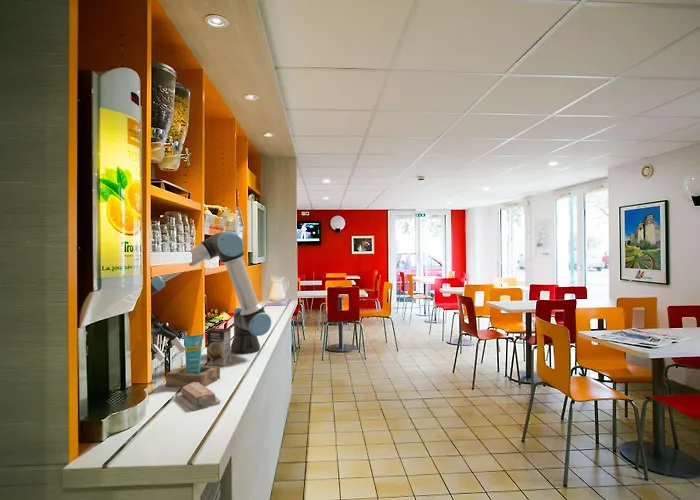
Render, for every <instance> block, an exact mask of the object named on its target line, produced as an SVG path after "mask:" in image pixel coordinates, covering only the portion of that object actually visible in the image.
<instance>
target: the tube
mask: <svg viewBox="0 0 700 500" xmlns="http://www.w3.org/2000/svg"><path fill="white" fill-rule="evenodd" d="M182 338H183V343H184V344H183V345H184V346H185V350H184V354H185V365H186V373H191V374H200V366H201V364H202V363H201V362H202V348H203V338H204V334H203V333H201V334H194V335H183V336H182Z"/></svg>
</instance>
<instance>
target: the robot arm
mask: <svg viewBox="0 0 700 500" xmlns="http://www.w3.org/2000/svg"><path fill="white" fill-rule="evenodd" d="M244 247H245V242H244V240H243V237H242V236H241V235H240V234H239V233H237V232H233V231H230V230H229V231H221V232H217V233H214V234H212V235H211V236H209V237H208V238H206V239H204V240H203V241H201V242H199V243H198V245H197V246H196V247H194V248H192V249H190V250H188V251H189V252H191V253H192V262H191V263H189V265H190V266H192V267H191V268H193V267H195V266H197V265H199V264H200V263H202V262H204V261H210V260H212V259H215V258H216V257H218V258H219V260H220V263H221V264H223V265H224V266H225V267H226V271H227V273H228V275H229V278H230V281H231V283H232V286H233V290H234V292H235V295H236V298H237V300H238V303H239V305H240V307H236V308H234V310H233V339H232V341H231V342H232V343H231V344H230V353H233V354H237V355H239V354H240V355H241V354H243V355H244V354H252V353H253V354H254V353H256V352H259V351H260V350H261V344H260V341H259V338H258V337H260V336H264V335H266V334H267V333H268V332H269V331H270V329H271V327H272V319H271V317H270V315H269V314H268V313H266V311H265V308H264V305H263V304H261V303H260V302H259V301H258V298H257V295H256V292H255V290H254V287H253V284H252V282H251V278H250V276H249V275H250V274H249V273H248V270H247V267H246V264H245V261H244V257H245V253H244ZM182 273H183V272H180V273H175V274H168V275H163V276H157V277H152V279H151V296H152V295H154V294H156V293H157V292H160V291H161V290H162V289H163V288H165V287H166V282H167V281H169V280H171V279H173V278H175V277H176V276H178V275H180V274H182ZM154 335H160V336H163V337H165V338H167V339H168V340H171V342H172V343H173V345H174V346H175V347H176V349H177V350H178V351H179V352H180V354H182V353H185V345H184V344H183V342H182V341H181V340H180V338H179V336H180V333H179V332H178V331H175V330H174V329H173V328H172V327H170V326H169V325H167V324H166V323H164V321H163V320H160V321H158V322H157V321H156V317H155V315H154V314H153V313H152V312H151V351H150V352H151V354H152V355H154V357H155V358H156V359H157V361H158V362H161V361H162V360H164V358H165V357H166V355H165V354H164V353H163V352H162V351H161V349H160V348H159V347H158V346H157V345H156V344H153V343H154V342H153V341H154V339H153V336H154Z"/></svg>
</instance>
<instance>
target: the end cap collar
mask: <svg viewBox="0 0 700 500" xmlns="http://www.w3.org/2000/svg"><path fill="white" fill-rule="evenodd" d="M218 379H219V380H220V379H221V366H218V365H203V364H202V365H201V366H200V374H191V373H186V364H185V365H183V366H181V367H179V368H176V369H173V370H171V371H169V372H166V374H165V387H166V388H167V387H168V388H177V387H181V388H182V387H184V386H186V385H188V384H191V383H192V382H199V383H200V384H202V385H203V386H205V387H206V388H207V387H208V386H209V384H210V385H212V384H213V383H215V382H217V381H218ZM211 383H212V384H211ZM181 388H180V389H181Z"/></svg>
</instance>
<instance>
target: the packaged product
mask: <svg viewBox="0 0 700 500" xmlns="http://www.w3.org/2000/svg"><path fill="white" fill-rule="evenodd" d="M175 395H176V398H177V399H179V400H180V401H181V402H182V403H183V404H184V405H185V406H187V407H188V408H189V409H190V410H192V411H197V410H201V409H205V408H209V406H210V407H213V406H217V404H218V405H221V401H222V400H221V399H219V398H218V397H216V394H215V392H213V391H212V390H211V389H209V388H207V386H206V387H205V386H203V385H202V384H200V383H199V382H192V383H191V384H188V385H186V386H184V387H182V388H180V393H177V394H176V393H175Z"/></svg>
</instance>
